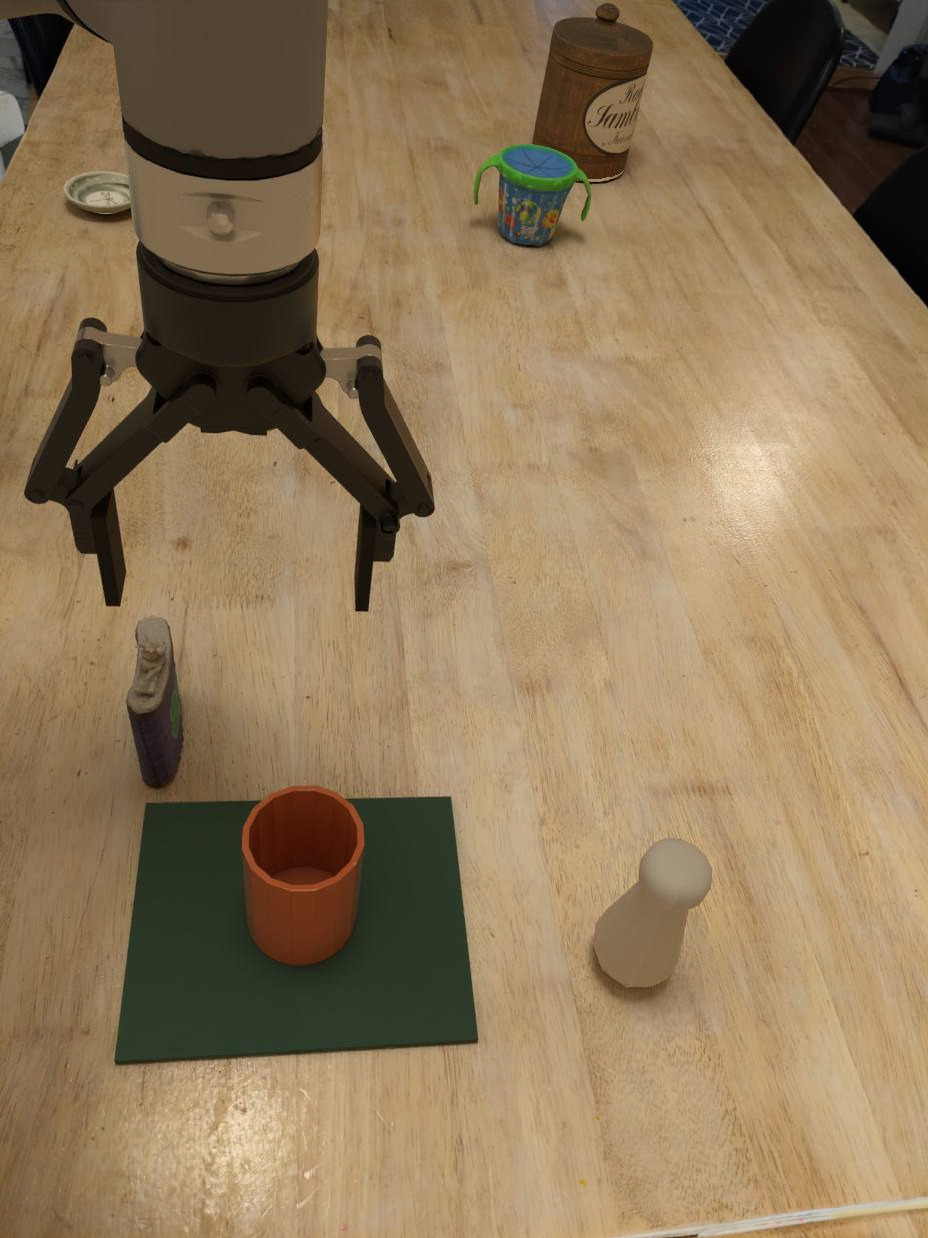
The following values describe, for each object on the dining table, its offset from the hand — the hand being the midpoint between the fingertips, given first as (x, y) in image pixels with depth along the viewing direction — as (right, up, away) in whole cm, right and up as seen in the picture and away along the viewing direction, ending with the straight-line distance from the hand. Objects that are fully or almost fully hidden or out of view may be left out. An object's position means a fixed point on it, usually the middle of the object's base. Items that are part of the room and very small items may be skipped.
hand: (241, 592), depth 58 cm
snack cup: (+21, +51, +82) cm, 99 cm away
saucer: (-33, +51, +73) cm, 95 cm away
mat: (+2, -22, +11) cm, 24 cm away
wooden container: (+30, +69, +101) cm, 126 cm away
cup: (+2, -21, +10) cm, 24 cm away
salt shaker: (+24, -25, +12) cm, 36 cm away
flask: (-10, -11, +19) cm, 24 cm away
